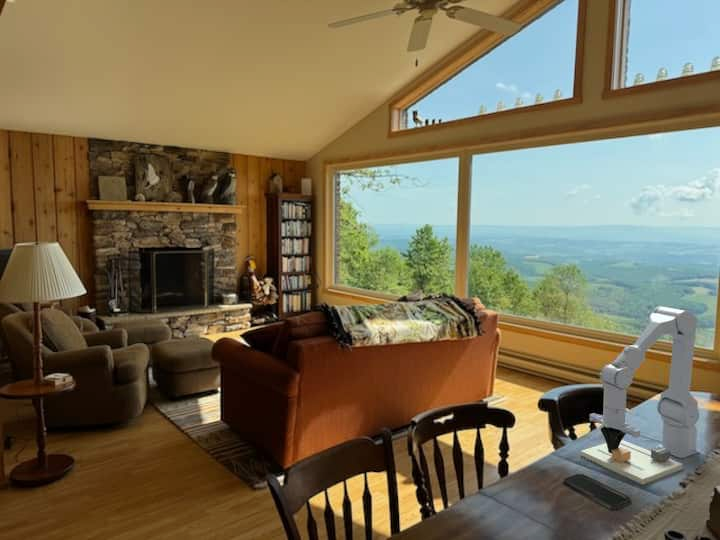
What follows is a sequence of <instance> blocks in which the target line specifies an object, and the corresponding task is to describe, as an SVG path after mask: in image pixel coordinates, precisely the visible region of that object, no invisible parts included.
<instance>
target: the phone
mask: <svg viewBox="0 0 720 540" xmlns="http://www.w3.org/2000/svg"><path fill="white" fill-rule="evenodd" d="M562 484H564V485H565V486H567V487H569V488H571V489H572V490H574V491H576V492H578V493H580V494H582V495H583V496H585V497H587V498H589V499H590V500H593V501H595V502H596V503H598V504H599V505H602V506H604V507H606V508H607V509H609V510H618V509H620V508H622V507H624V506H626V505H629V504H631V503H632V499H631V497H630V496H627V495H626V494H624V493H622V492H619V491H618V490H617V489H614V488H612V487H610V486H608V485H606V484H604V483H602V482H600V481H598V480H596V479H594V478H591V477H589V476H587V475H586V474H584V473H576V474H574V475H571V476H568V477H565V478H563V479H562Z"/></svg>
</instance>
